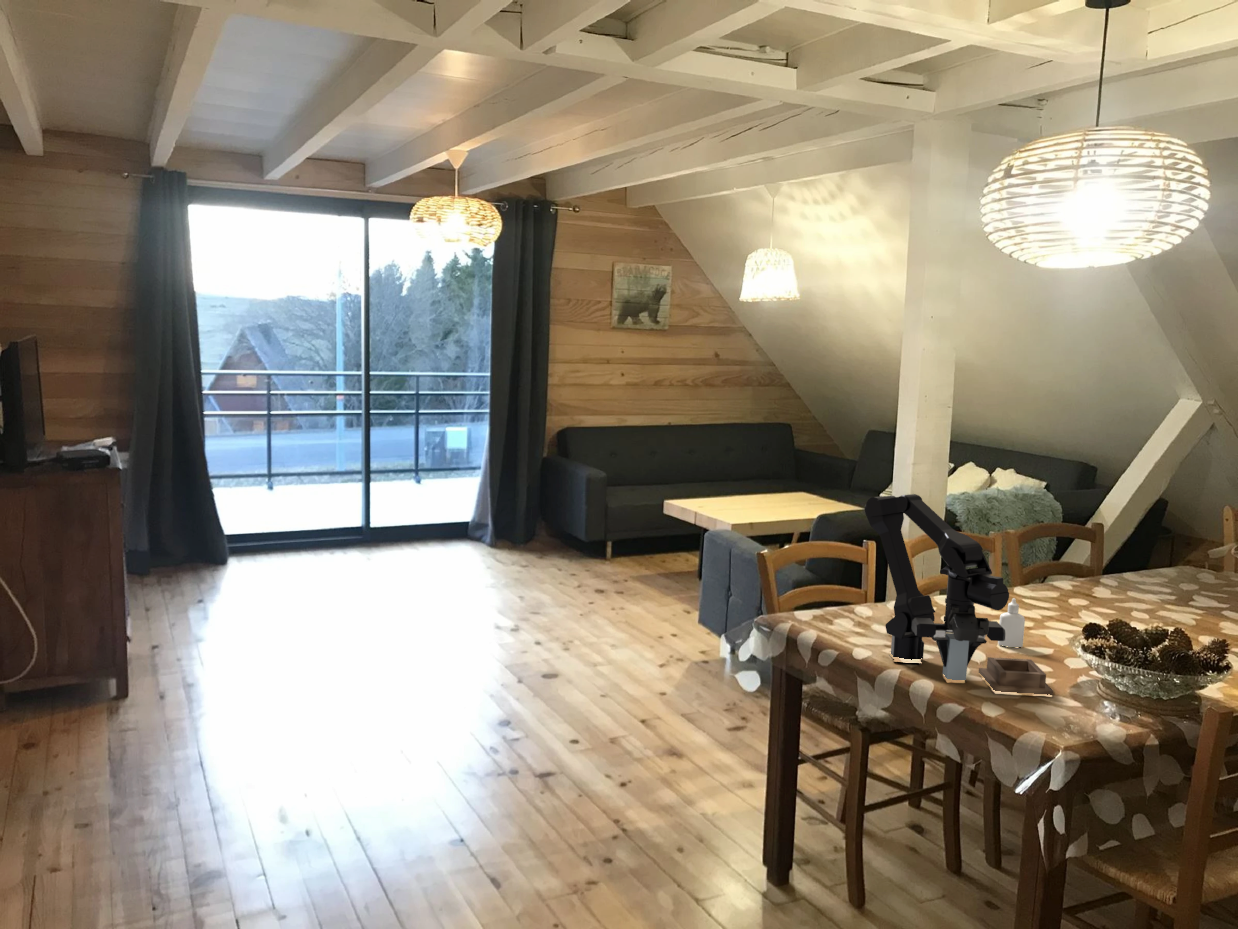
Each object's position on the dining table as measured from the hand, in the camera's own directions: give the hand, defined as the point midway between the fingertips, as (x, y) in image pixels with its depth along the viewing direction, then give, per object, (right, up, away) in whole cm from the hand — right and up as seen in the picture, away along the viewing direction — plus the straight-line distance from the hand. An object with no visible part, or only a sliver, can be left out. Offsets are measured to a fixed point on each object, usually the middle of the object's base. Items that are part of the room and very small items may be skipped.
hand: (954, 666), depth 213 cm
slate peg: (0, -3, 0) cm, 3 cm away
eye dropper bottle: (+22, 0, +25) cm, 33 cm away
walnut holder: (+12, -4, -2) cm, 13 cm away
